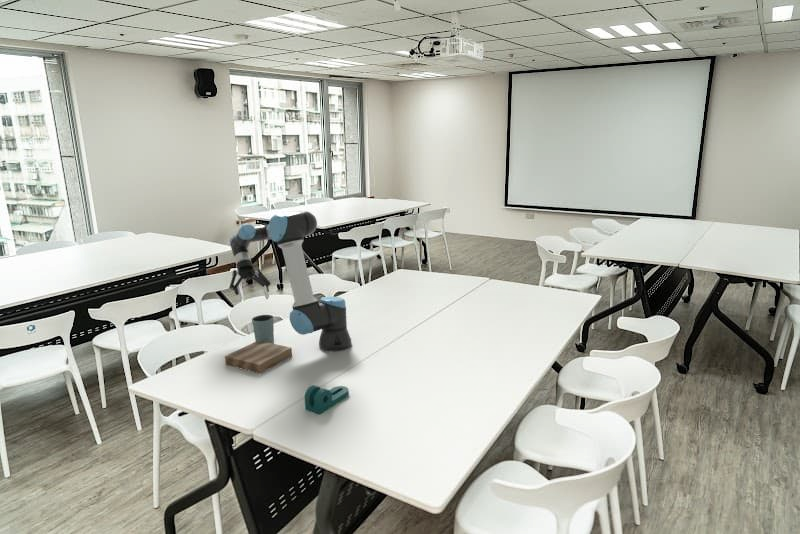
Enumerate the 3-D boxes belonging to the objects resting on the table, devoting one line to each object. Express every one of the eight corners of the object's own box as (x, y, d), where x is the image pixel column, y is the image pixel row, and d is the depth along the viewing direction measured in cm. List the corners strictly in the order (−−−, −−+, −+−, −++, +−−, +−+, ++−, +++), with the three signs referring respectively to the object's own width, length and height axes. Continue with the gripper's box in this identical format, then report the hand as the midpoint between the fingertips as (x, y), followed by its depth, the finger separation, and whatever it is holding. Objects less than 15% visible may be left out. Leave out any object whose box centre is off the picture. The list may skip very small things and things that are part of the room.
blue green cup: (256, 346, 237) (254, 322, 234) (252, 339, 246) (249, 316, 243) (277, 342, 242) (275, 318, 239) (272, 335, 250) (270, 313, 248)
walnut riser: (292, 355, 226) (291, 347, 225) (260, 373, 209) (259, 364, 208) (259, 348, 235) (258, 340, 234) (225, 364, 218) (224, 356, 217)
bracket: (319, 415, 176) (318, 394, 174) (305, 410, 179) (304, 389, 177) (352, 394, 190) (351, 375, 188) (338, 389, 194) (337, 370, 192)
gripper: (264, 266, 263) (275, 301, 254) (216, 268, 247) (226, 304, 238) (269, 258, 258) (280, 293, 249) (220, 259, 242) (231, 296, 233)
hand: (254, 299), depth 244 cm, fingers open, 13 cm apart
